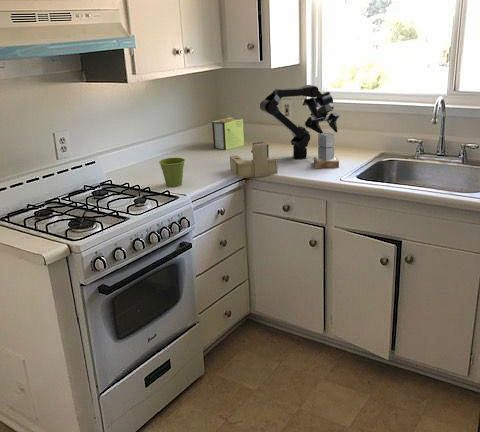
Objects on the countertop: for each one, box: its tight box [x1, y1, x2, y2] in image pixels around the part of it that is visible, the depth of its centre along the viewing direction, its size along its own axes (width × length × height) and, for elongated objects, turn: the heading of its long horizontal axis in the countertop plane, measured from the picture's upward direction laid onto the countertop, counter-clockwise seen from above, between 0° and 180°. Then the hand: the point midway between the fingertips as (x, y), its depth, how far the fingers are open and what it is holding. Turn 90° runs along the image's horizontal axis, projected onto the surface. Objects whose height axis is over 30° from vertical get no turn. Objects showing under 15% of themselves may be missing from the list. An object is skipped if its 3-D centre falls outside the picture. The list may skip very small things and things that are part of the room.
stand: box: [313, 155, 340, 169], centre depth 264 cm, size 11×11×3 cm
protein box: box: [211, 117, 245, 151], centre depth 310 cm, size 10×15×16 cm
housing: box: [317, 132, 335, 160], centre depth 261 cm, size 6×5×12 cm
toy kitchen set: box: [229, 142, 278, 179], centre depth 256 cm, size 18×17×15 cm
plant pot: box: [158, 157, 186, 188], centre depth 242 cm, size 12×12×11 cm
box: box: [252, 141, 270, 160], centre depth 270 cm, size 8×6×11 cm
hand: (329, 133), depth 269 cm, fingers open, 9 cm apart
